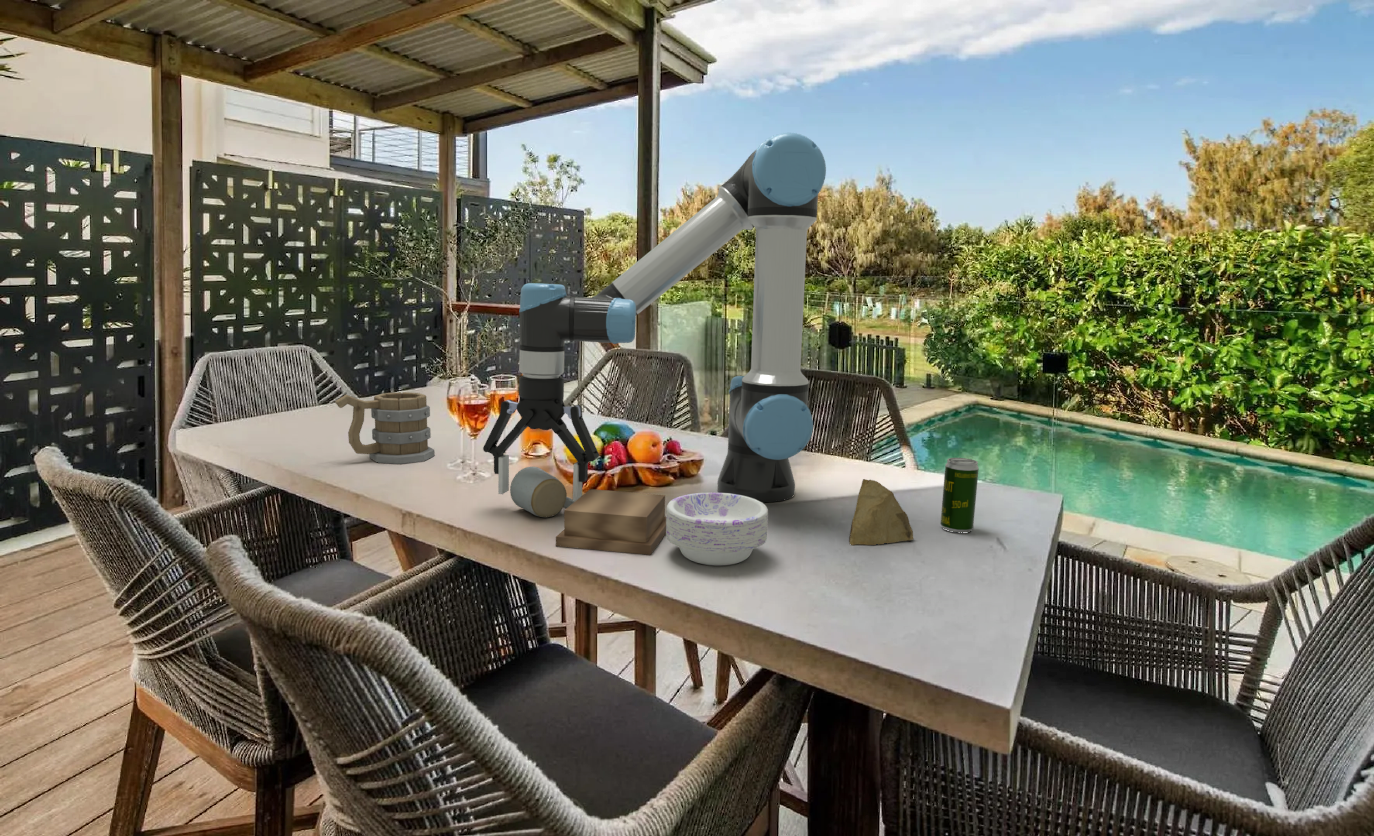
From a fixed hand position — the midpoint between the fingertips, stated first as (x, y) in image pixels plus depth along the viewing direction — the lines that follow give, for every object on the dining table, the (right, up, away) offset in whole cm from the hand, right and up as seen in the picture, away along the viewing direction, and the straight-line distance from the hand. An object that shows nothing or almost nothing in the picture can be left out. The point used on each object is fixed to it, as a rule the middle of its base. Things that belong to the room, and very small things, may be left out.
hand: (540, 495), depth 141 cm
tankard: (-41, +4, +36) cm, 55 cm away
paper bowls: (+30, -7, -19) cm, 36 cm away
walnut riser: (+14, -5, -11) cm, 19 cm away
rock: (+57, -7, -10) cm, 58 cm away
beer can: (+72, -6, -3) cm, 72 cm away
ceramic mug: (+1, -3, +1) cm, 3 cm away
